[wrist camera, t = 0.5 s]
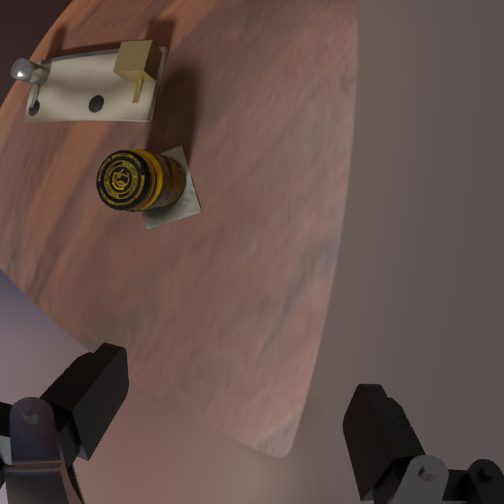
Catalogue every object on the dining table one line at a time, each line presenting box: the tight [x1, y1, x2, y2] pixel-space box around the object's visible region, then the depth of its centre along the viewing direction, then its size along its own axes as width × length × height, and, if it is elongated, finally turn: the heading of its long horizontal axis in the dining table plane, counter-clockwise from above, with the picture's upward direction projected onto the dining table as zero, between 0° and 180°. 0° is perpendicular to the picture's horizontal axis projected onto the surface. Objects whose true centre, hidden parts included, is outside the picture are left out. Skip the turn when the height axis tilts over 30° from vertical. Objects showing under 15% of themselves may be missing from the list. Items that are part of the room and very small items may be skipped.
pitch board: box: [24, 47, 169, 123], centre depth 32 cm, size 10×22×2 cm, turn 81°
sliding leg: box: [113, 40, 163, 103], centre depth 29 cm, size 7×4×4 cm, turn 171°
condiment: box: [96, 145, 201, 230], centre depth 30 cm, size 7×8×12 cm
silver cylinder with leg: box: [11, 58, 49, 108], centre depth 28 cm, size 6×3×6 cm, turn 171°
